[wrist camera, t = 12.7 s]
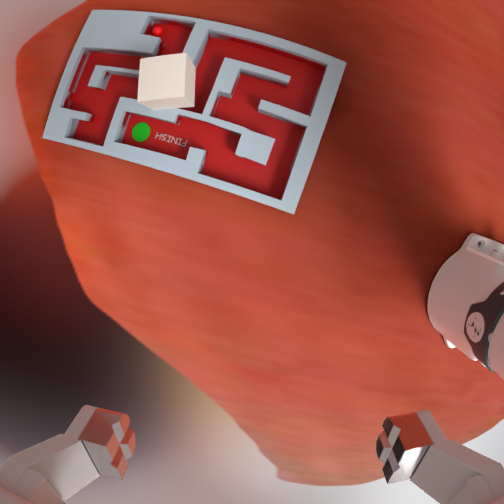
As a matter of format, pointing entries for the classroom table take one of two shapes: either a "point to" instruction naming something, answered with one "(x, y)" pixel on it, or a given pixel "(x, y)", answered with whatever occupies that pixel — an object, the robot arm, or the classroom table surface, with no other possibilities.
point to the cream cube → (167, 82)
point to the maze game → (200, 103)
